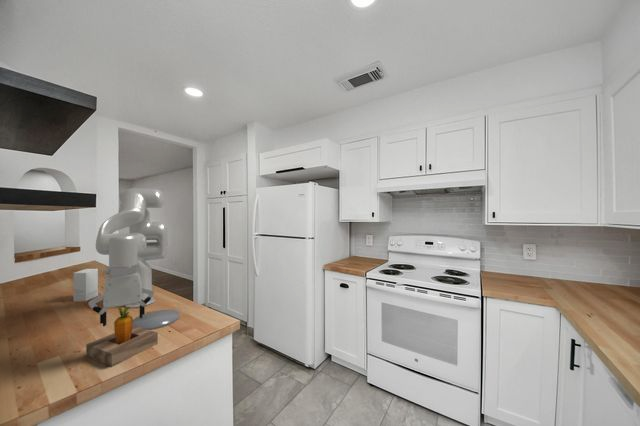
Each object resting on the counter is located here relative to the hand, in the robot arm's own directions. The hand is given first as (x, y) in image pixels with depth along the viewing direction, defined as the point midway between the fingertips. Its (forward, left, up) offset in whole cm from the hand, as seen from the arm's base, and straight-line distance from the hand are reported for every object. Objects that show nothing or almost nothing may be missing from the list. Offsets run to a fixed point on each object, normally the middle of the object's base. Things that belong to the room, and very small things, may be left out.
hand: (123, 320), depth 82 cm
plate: (-12, +19, -10) cm, 25 cm away
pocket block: (0, 0, -10) cm, 10 cm away
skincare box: (-73, +22, -10) cm, 77 cm away
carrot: (0, 0, -10) cm, 10 cm away
